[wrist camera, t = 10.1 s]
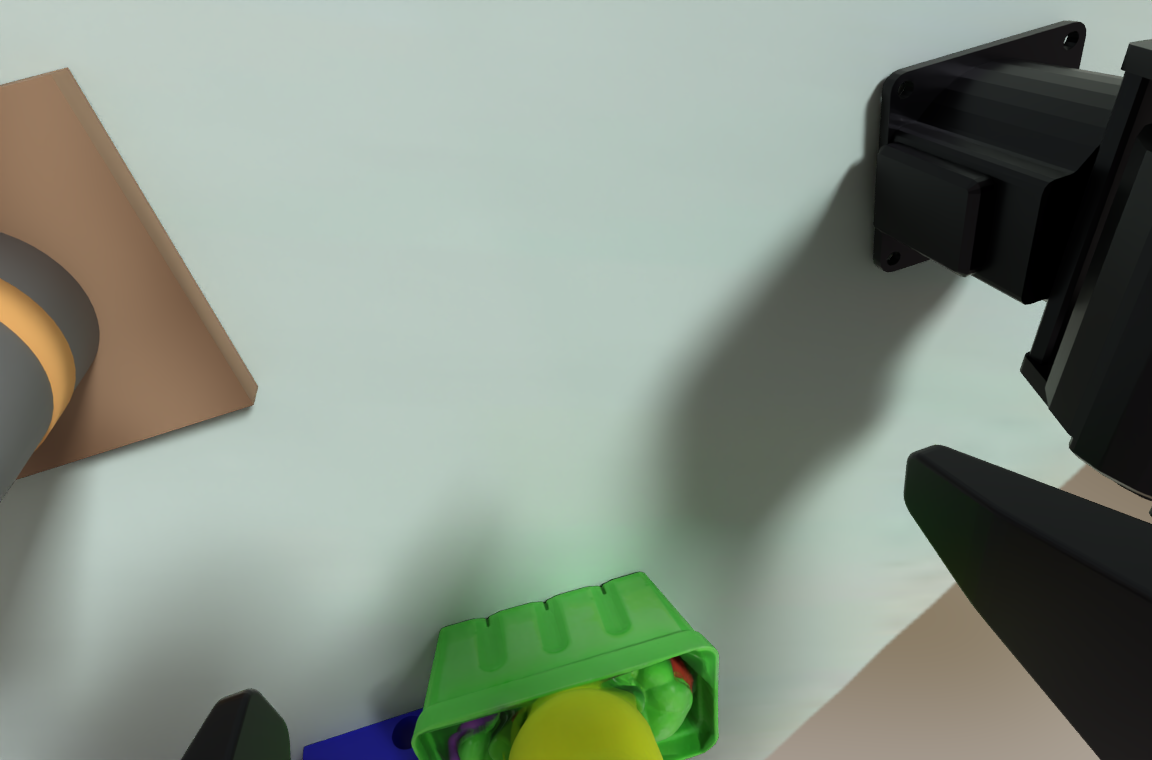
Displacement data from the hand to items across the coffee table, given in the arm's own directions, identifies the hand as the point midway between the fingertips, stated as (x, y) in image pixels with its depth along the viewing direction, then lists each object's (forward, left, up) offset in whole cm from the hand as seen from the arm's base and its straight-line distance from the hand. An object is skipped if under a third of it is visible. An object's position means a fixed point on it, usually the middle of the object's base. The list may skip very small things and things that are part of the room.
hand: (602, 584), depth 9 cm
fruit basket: (+2, +18, -13) cm, 22 cm away
